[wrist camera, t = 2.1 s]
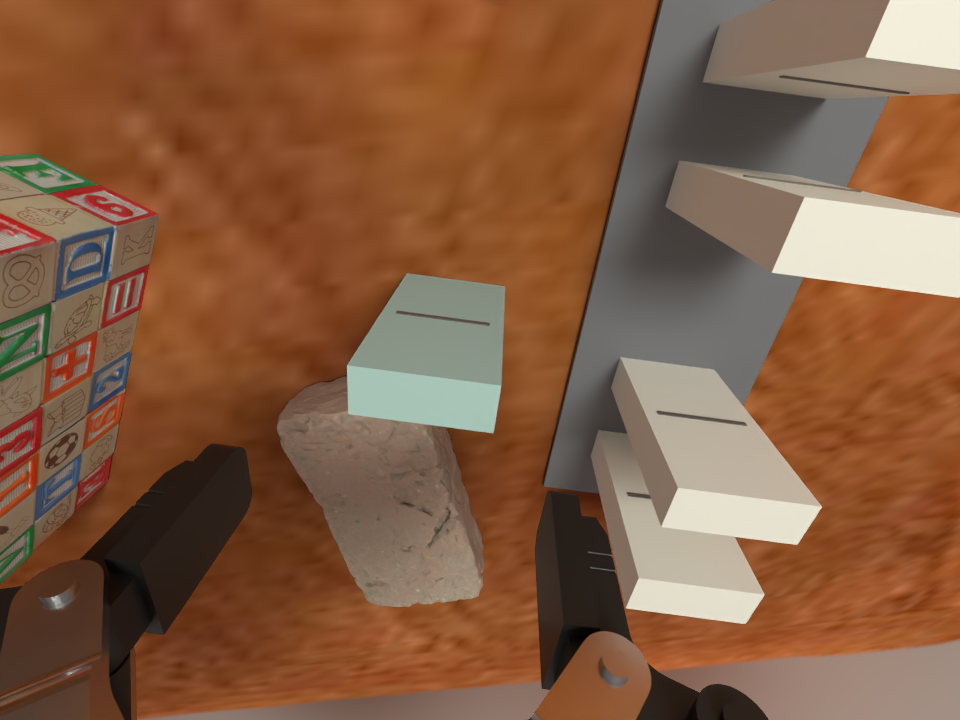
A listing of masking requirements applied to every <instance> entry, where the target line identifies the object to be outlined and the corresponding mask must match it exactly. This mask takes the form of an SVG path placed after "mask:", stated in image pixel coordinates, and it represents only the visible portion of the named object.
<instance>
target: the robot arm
mask: <svg viewBox="0 0 960 720" xmlns="http://www.w3.org/2000/svg"><path fill="white" fill-rule="evenodd" d="M251 496H252V489H251V482H250V475H249V469H248V462H247V456H246V451H245V450H244V448H242V447H235V446H228V445H221V444H211V445H209V446H208V447H207V448H206V449H205V450H204V451H203V452H202V453H201V454H200V455H199V456H198V457H197V458H196V459H195V460H194V462H193V461H185V462H183V463H181V464H180V465H178V466H176V467H174V468H173V469H171V470H169V471H168V472H166V473H164V474H163V475H162V476H161V477H160V478H159V480H158V481H157V482H156V483H155V484H154V485H153V486H152V487H151V488H150V489H149V492H148V493H147V492H146V493H145V494H144V495H143V496H142V497H141V498H140V499H139V500H138V501H137V502H136V505H135V506H132V507H131V508H130V509H129V510H128V511H127V512H126V513H125V514H124V515H123V516H122V517H121V518H120V519H119V520H118V521H117V522H116V523H115V524H114V525H113V526H112V527H111V528H110V529H109V531H108V532H107V533H106V534H105V535H104V536H103V537H102V538H101V539H100V540H99V541H98V542H97V543H96V544H95V545H94V546H93V547H92V548H91V549H90V550H89V551H88V552H87V553H86V554H85V555H84V556H83V557H82V558H81V559H80V560H73V561H68V562H64V563H60V564H58V565H55V566H53V567H50V568H48V569H46V570H44V571H43V572H41V573H39V574H37V575H36V576H35V577H33V578H32V579H30V580H29V581H28V582H27V583H25V584H24V585H23V586H20V587H13V588H6V589H0V720H137V699H136V660H135V649H134V645H135V644H136V642H137V641H138V640H139V638H140V637H141V636H142V634H143V633H144V632H148V633H155V634H162V635H164V634H165V633H166V631H167V630H168V628H169V627H170V625H171V624H172V622H173V621H174V620H175V618H176V617H177V615H178V614H179V612H180V611H181V609H182V608H183V606H184V605H185V603H186V602H187V600H188V599H189V597H190V596H191V594H192V593H193V591H194V590H195V588H196V587H197V585H198V584H199V582H200V581H201V580H202V578H203V577H204V575H205V574H206V572H207V571H208V569H209V568H210V566H211V565H212V563H213V562H214V560H215V559H216V557H217V556H218V554H219V553H220V551H221V550H222V548H223V547H224V545H225V544H226V542H227V541H228V540H229V538H230V537H231V535H232V534H233V532H234V531H235V529H236V528H237V526H238V525H239V523H240V522H241V520H242V519H243V517H244V516H245V514H246V512H247V510H248V508H249V505H250V502H251ZM611 555H612V553H611V549H610V544H609V540H608V535H607V534H606V532H605V531H604V529H603V528H602V526H601V525H600V523H599V522H598V520H597V519H596V518H592V517H585V516H581V511H580V505H579V499H578V496H577V495H576V494H570V493H563V492H555V491H548V492H547V495H546V499H545V503H544V507H543V511H542V515H541V519H540V523H539V526H538V531H537V536H536V545H535V562H536V582H537V602H538V622H539V642H540V663H541V683H542V689H548V690H550V691H549V692H548V694H547V696H546V697H545V698H544V700H543V701H542V703H541V704H540V706H539V707H538V708H537V710H536V711H535V713H534V714H533V715H532V717H531V718H530V719H529V720H768V718H767V717H766V715H765V714H764V713H763V711H762V710H761V709H760V708H759V707H758V706H757V704H755V703H754V702H753V701H752V700H751V699H750V698H749V697H747V696H746V695H745V694H743V693H742V692H740V691H738V690H737V689H734V688H732V687H730V686H726V685H721V684H714V685H709V686H707V687H705V688H704V689H703V690H702V691H701V692H700V693H699V692H697V691H695V690H693V689H691V688H688V687H686V686H684V685H682V684H680V683H678V682H676V681H674V680H672V679H670V678H668V677H666V676H664V675H662V674H661V673H659V672H658V671H656V670H655V669H654V668H653V667H651V666H650V665H649V664H648V663H647V662H646V660H645V658H644V656H643V655H642V653H641V652H640V651H639V649H638V648H637V647H636V646H635V645H634V644H633V641H632V639H631V636H630V633H629V629H628V624H627V620H626V615H625V611H624V606H623V602H622V598H621V593H620V589H619V584H618V580H617V575H616V574H615V566H614V562H613V558H612V557H611Z"/></svg>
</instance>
